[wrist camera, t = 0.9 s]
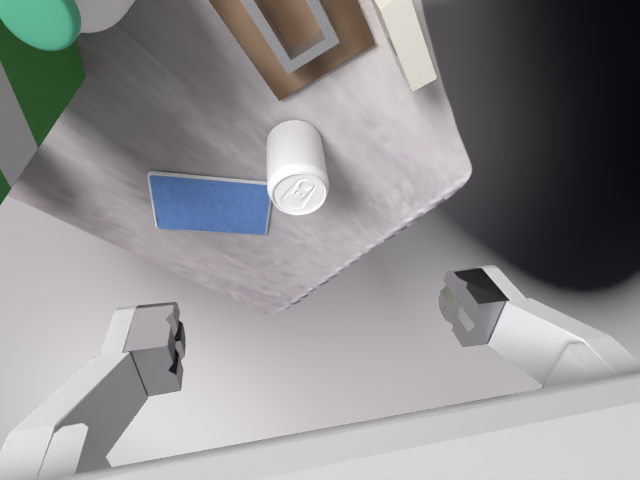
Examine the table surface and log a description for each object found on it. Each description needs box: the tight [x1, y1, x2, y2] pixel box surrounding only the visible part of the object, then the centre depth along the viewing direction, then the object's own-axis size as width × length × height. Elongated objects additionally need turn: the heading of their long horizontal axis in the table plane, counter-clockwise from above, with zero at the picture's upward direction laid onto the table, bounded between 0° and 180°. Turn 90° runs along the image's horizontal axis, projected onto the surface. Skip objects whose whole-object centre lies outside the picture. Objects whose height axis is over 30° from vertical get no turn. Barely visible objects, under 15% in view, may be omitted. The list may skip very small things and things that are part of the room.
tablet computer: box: [147, 171, 271, 235], centre depth 64 cm, size 19×13×1 cm, turn 79°
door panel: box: [371, 0, 437, 92], centre depth 43 cm, size 3×10×8 cm, turn 29°
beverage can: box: [267, 120, 329, 215], centre depth 53 cm, size 8×8×12 cm
